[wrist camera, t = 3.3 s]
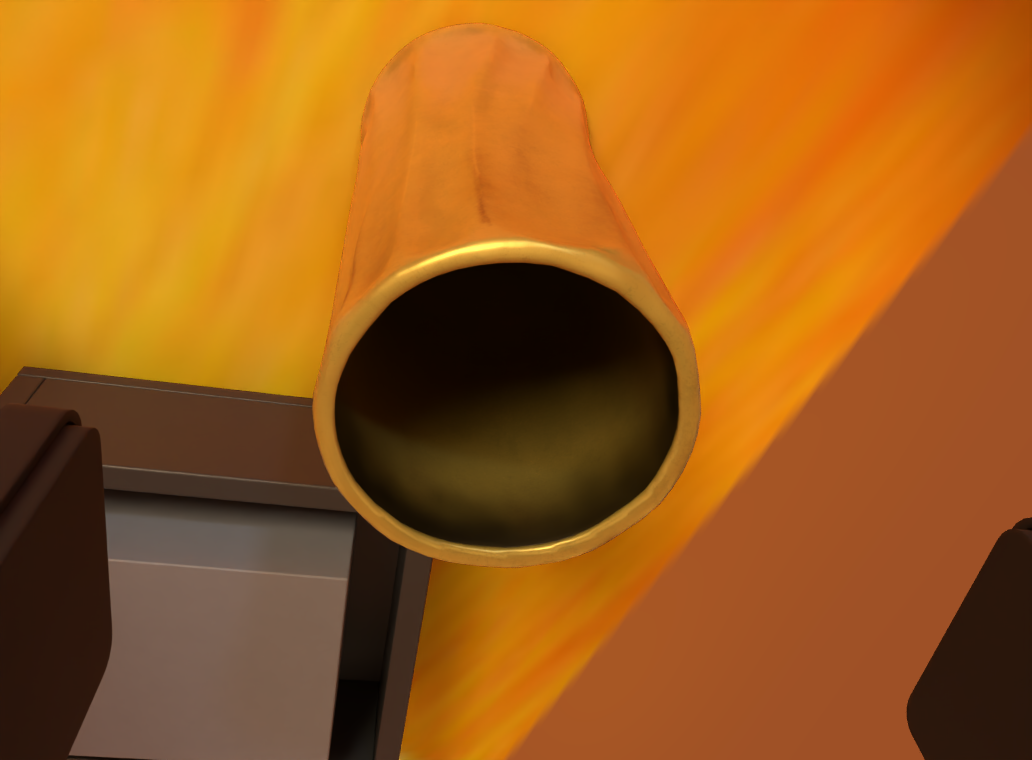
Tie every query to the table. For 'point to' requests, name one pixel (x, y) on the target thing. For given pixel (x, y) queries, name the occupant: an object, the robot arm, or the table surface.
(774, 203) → the table surface
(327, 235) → the table surface
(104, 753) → the block
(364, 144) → the vase
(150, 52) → the table surface
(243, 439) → the crate
